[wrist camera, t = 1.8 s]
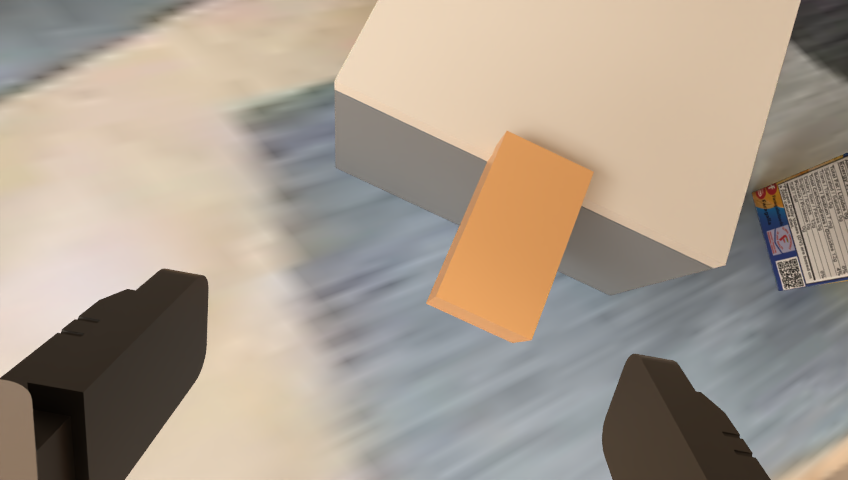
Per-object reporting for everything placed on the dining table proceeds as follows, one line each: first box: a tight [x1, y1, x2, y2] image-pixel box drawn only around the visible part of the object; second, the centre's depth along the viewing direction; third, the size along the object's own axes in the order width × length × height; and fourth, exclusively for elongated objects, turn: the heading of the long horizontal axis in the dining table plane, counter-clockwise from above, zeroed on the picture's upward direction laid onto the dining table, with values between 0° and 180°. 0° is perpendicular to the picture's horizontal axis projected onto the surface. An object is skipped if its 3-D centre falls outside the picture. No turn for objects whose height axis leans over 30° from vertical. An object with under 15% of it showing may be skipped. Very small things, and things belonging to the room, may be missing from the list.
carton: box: [335, 90, 712, 295], centre depth 32 cm, size 19×16×10 cm
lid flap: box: [335, 0, 801, 343], centre depth 25 cm, size 19×23×2 cm
